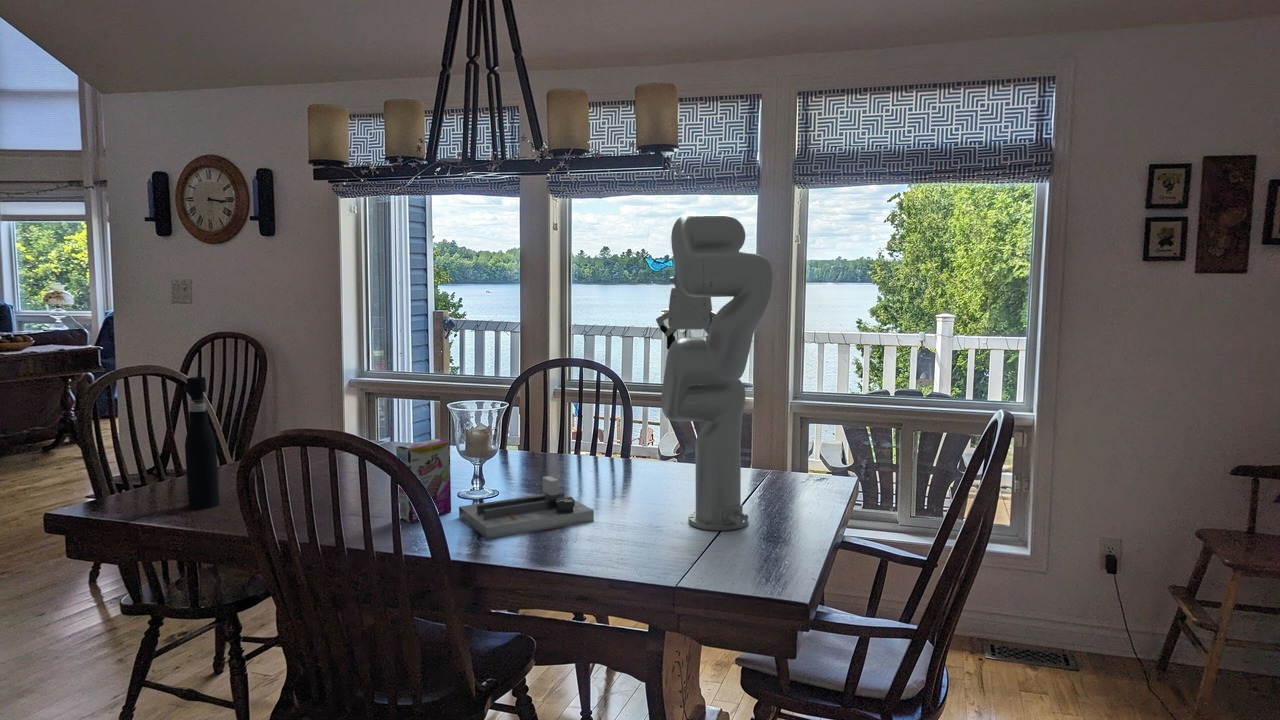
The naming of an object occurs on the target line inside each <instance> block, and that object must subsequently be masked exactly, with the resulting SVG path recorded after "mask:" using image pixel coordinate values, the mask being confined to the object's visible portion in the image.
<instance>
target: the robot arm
mask: <svg viewBox="0 0 1280 720" xmlns="http://www.w3.org/2000/svg"><path fill="white" fill-rule="evenodd" d="M670 238H671V239H670V243H671V251H672V256H673V262H674V275H673V276H672V277H671V276H670V277H669V283H670V284H673V286H674V287H671V289H670V295H669V302H668V311H667V312H665V313H664V314H662V315H660V316H658V317H657V318H656V319H655V321H656V323H657V326H658V327H659V329H660V331H661V332H662V333H663V334H664V336H665V337H666V349H667V350H668V351H667V355H666V360H665V367H664V368H665V369H664V375H663V382H662V388H661V397H660V399H661V402H660V404H661V411H662V413H663V416H665V418H666V419H668V420H670V421H673V422H705V424H704V425H703V426H702V428H701V430H699V433H698V435H697V437H696V439H695V449H694V450H695V458H694V459H695V511H694V512H692V513H689V515H688V524H689V525H691V526H693V527H695V528H697V529H700V530H704V531H705V530H707V531H720V532H721V531H722V532H723V531H732V530H738V529H741V528H744V527H746V526H747V525H748V523H749V515H748V514H747V513H743V508H744V507H743V504H741V501H742V500H741V499H742V498H741V497H742V496H741V494H742V493H741V491H742V489H741V488H742V487H741V479H742V478H741V477H742V476H741V475H742V474H741V471H742V470H741V469H742V468H741V467H742V466H741V464H742V463H741V461H742V460H741V455H742V454H741V453H742V450H741V449H742V448H741V446H742V443H741V441H742V423H743V415H744V410H745V403H746V388H745V385H744V383H743V382H742V380H740V379H741V378H742V376H744V375H743V374H745V370H746V368H747V367H746V366H747V363H748V359H749V356H750V355H749V354H750V350H751V346H752V341H753V337H754V333H755V331H756V328H757V326H758V324H759V323H760V321H761V319H762V318H763V315H764V314H765V311H766V309H767V307H768V305H769V302H770V299H771V293H772V289H773V278H774V277H773V276H774V275H773V268H772V265H771V263H770V261H769V260H768V259H767V258H766V257H764V256H762V255H760V254H757V253H753V252H746V251H744V252H743V251H740V250H741V249H742V248H743V246H744V244H745V240H746V230H745V228H744V225H743V224H742V223H741V221H739V220H738V219H737V218H736V217H733V216H731V215H728V214H685V215H682V216H680V217H678V218H677V219H676V220H675V222H674V224H673V226H672V230H671V236H670ZM723 297H724V298H730V297H733V298H732V299H731V300H730V301H728V302H727V303H726V304H725V305H723V306H722V307H721V308H720V309H719V310H718V311H717V313H716V312H714V311H713V305H712V304H713V303H712V298H723ZM666 320H667V324H668V326H667V325H665V321H666ZM677 330H695V331H696V330H698V331H699V330H704V331H705V332H706V333H707V335H706V336H705V335H704V336H688V337H687V336H686V337H679V338H677V339H676V336H675V335H674V334H675V333H676V332H677Z"/></svg>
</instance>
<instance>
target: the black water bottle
mask: <svg viewBox="0 0 1280 720" xmlns="http://www.w3.org/2000/svg"><path fill="white" fill-rule="evenodd" d="M186 389H187V393H188V394H190V398H191V399H190V402H192V403H190V405H189V407H190V408H189V410H190V411H189V412H188V413H189V415H188V418H189V424H188V428H187V431H186V436H185V443H184V453H185V468H186V469H185V470H186V482H187V483H186V484H187V497H188V507H189V509H192V510H204V509H203V508H205V509H211V508H215V507H218V506H219V505H220V490H219V488H220V487H219V474H218V473H219V471H218V457H217V456H218V454H217V443H216V442H217V441H216V439H215V436H214V432H213V429H212V428H211V425H210V423H209V415H208V410H207V407H206V406H207V404H206V402H204V400H205V399H204V398H205V397H204V393H205V392H207V380H206V377H205V376H194V377H187V378H186ZM214 506H215V507H214ZM210 507H211V508H210Z"/></svg>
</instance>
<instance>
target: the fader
mask: <svg viewBox="0 0 1280 720" xmlns="http://www.w3.org/2000/svg"><path fill="white" fill-rule="evenodd" d="M559 489H560V488H559V479H557V478H555V477H553V476H551V475H549V476H543V477H542V491H543V492H544V494H545V500H550V499H557V495H559V492H560V491H559Z"/></svg>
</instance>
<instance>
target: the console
mask: <svg viewBox="0 0 1280 720" xmlns="http://www.w3.org/2000/svg"><path fill="white" fill-rule="evenodd" d="M594 512H595V511H594V509H592V508H591V507H589V506H587V505H585V504H583V503H581V502H579V501H577V500H575V498H573V497H572V496H570V495H569V496H568V495H566V494H565V492H563V491H561V492H560V491H559V495H557V499H550V500H545V493H543V494H534V495H528V496H522V497H515V498H509V499H502V500H495V501H488V502H482V503H476V504H469V505H462V506H458V514H459V515H458V517H459V518H460V519H461V520H462V521H463V522H465V524H467V525H468V526H470V527H471V528H472V529H473V530H474V531H476V533H477V532H478V533H479V534H480V535H481V536H482V537H484V539H486V540H491V539H497V538H502V537H507V536H509V537H510V536H515V535H520V534H527V533H532V532H538V531H543V530H549V529H550V530H551V529H554V528H561V527H566V526H573V525H578V524H585V523H591V522H594V521H595V513H594Z"/></svg>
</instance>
